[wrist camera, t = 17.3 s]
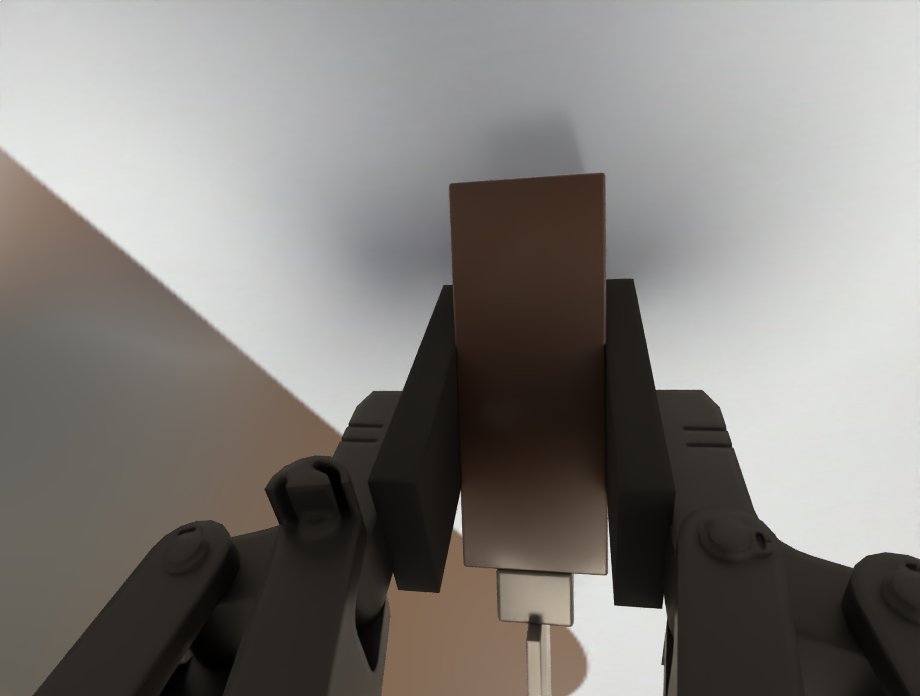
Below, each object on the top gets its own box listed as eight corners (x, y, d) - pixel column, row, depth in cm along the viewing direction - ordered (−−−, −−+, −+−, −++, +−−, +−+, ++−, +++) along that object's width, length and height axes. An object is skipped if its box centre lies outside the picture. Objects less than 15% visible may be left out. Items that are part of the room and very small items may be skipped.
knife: (473, 201, 14) (442, 178, 11) (598, 193, 14) (606, 166, 10) (498, 913, 17) (478, 1076, 13) (604, 932, 16) (612, 1108, 13)
